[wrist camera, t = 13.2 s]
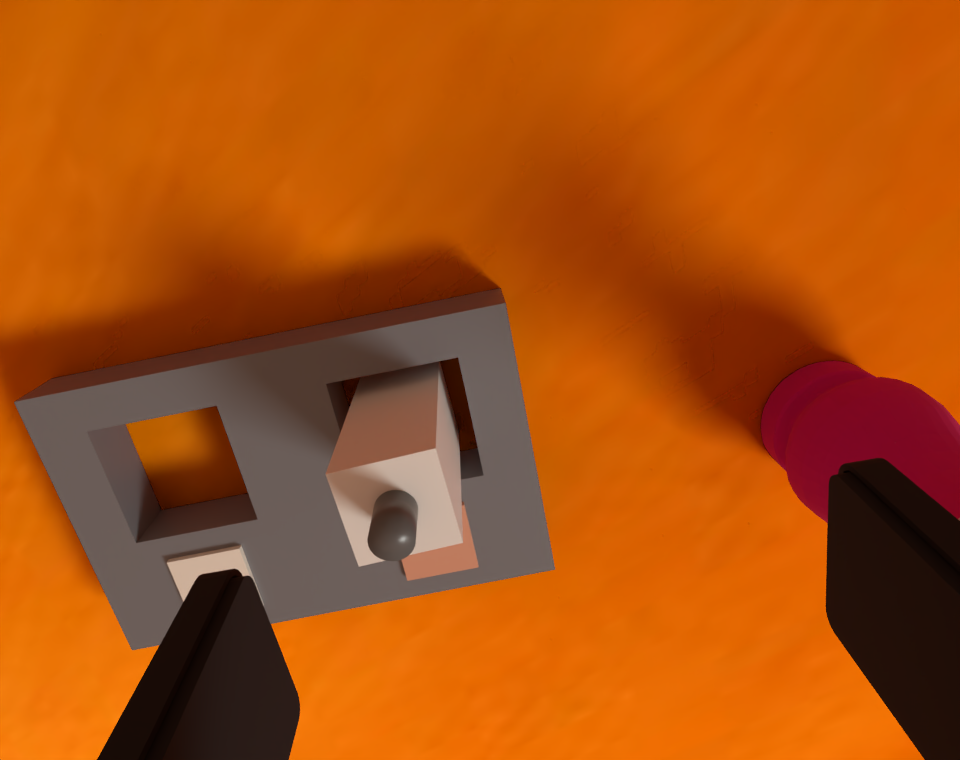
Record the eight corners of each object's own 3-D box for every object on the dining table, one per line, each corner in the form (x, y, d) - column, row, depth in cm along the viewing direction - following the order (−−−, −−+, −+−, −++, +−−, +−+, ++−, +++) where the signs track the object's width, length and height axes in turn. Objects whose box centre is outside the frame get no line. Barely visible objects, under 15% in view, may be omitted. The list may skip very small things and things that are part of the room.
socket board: (51, 378, 32) (9, 404, 29) (500, 287, 32) (506, 304, 29) (156, 611, 37) (129, 654, 34) (546, 535, 37) (555, 573, 33)
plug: (360, 377, 33) (314, 503, 22) (439, 358, 33) (434, 475, 22) (383, 448, 34) (351, 601, 23) (459, 430, 34) (464, 576, 23)
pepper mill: (885, 465, 36) (1361, 826, 17) (751, 489, 36) (1080, 872, 17) (890, 338, 33) (1454, 598, 15) (747, 364, 34) (1124, 655, 15)
